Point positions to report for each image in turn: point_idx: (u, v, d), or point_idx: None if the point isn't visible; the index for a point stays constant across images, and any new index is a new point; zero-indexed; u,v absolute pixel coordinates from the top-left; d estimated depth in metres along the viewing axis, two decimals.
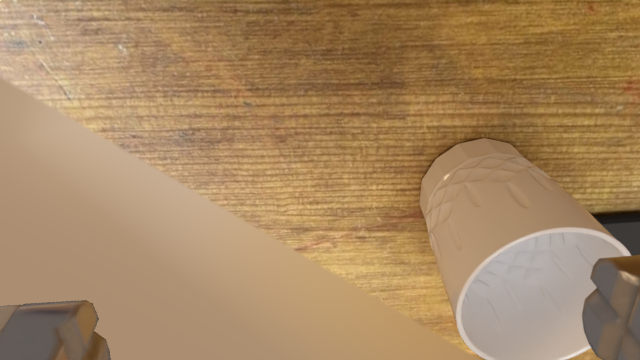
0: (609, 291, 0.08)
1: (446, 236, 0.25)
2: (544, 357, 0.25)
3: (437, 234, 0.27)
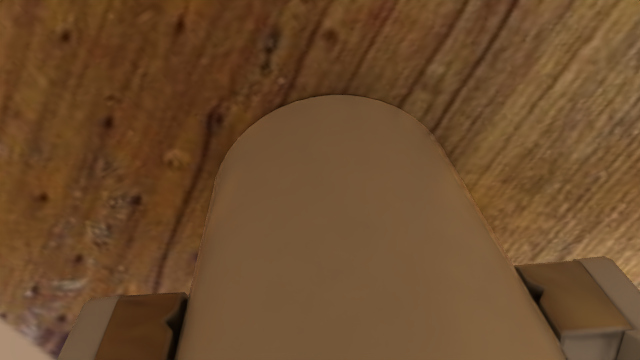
0: None
1: None
2: None
3: None
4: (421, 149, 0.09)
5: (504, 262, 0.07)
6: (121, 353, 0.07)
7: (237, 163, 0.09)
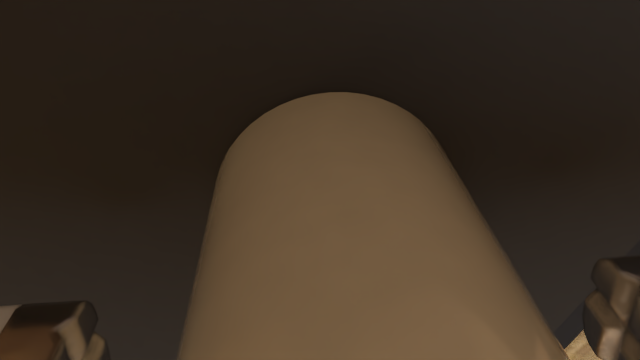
0: (609, 291, 0.08)
1: None
2: None
3: None
4: (419, 144, 0.09)
5: (498, 252, 0.07)
6: None
7: (239, 158, 0.10)
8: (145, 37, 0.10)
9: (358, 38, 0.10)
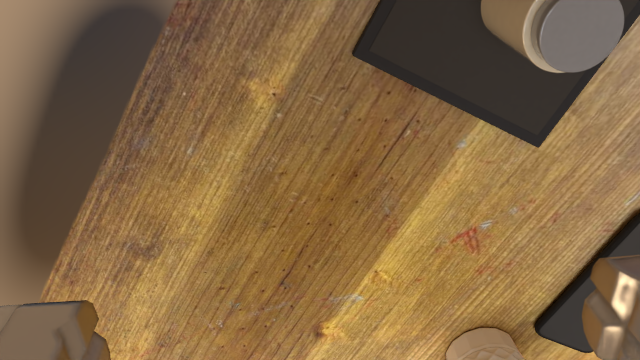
0: (609, 291, 0.08)
1: None
2: None
3: None
4: None
5: None
6: None
7: None
8: None
9: None
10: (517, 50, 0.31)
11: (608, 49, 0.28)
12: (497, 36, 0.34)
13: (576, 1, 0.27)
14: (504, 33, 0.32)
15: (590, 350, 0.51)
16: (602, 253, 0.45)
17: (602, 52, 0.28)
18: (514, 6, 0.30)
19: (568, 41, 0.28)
